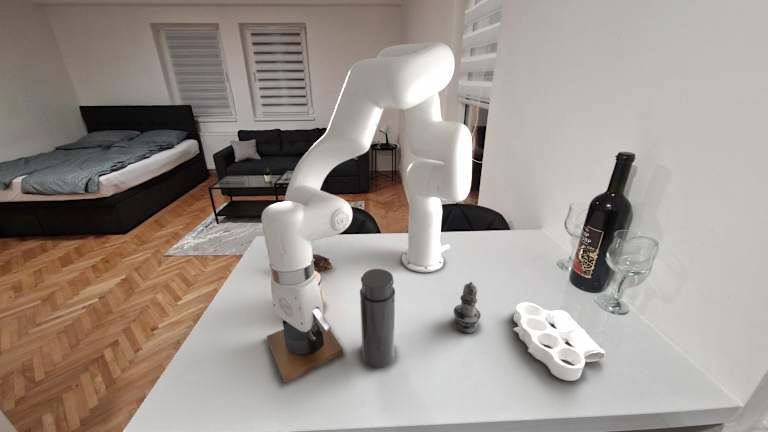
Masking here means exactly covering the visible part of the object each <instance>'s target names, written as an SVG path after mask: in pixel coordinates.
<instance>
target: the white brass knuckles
mask: <svg viewBox="0 0 768 432" xmlns="http://www.w3.org/2000/svg"><path fill="white" fill-rule="evenodd" d="M513 321H514V322H515V323H516V324H517V327H514V328H512V331H514V332H516V333H517V334H518V337H519V339H520V340H521V342H524V344H525V345H526V347H527V353H530V354H531V355H532V356H533V357H534V358H535V359H536V360H539V361H540V362H541V363H543V364H544V365H545V366H547V368H548V369H549V371H550V373H551V374H552V375H553V376H555V377H556V378H558V379H560V380H562V381H568V382H571V381H573V382H574V381H577V380H578V379H580V377H581V375H582V373H583V371H584V367H585V364H586V363H592V362H597V361H601V360H603V359H604V358H605V357H606V355H607V353H606V351H605V350H604V349H603V348H600V346H599V345H598V344H597V343H596V342H595V341H594V340H593V339H592V338H591V337H590V336H589V335H588V334H587V332H586V330H585V329H583V328H582V327H581V326H580V325H578V323H577V322H576V321H575V320H574V319H573V317H571V316H570V314H569V313H568V312H567V311H564V310H547V309H544V308H542V307H541V306H539V305H537V304H535V303H532V302H521V303H519V304H517V305H516V308H515V311H514V316H513ZM551 325H553V326H554V327H555V328H554V327H552V326H551ZM566 343H569V344H570V345H571V346H569V345H568V344H566ZM544 345H546V346H548V347H546V346H544ZM549 347H550V348H549ZM562 360H563V361H567V362H569V363H570V364H572V365H570V364H567V363H565V362H563V361H562Z"/></svg>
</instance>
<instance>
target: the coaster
mask: <svg viewBox="0 0 768 432" xmlns="http://www.w3.org/2000/svg"><path fill="white" fill-rule="evenodd" d="M283 330H284V328H282V329H280V330H278V331H275V332H272V333H270V334H268V335H266V339H267V342H268V345H269V347H270V350H271V352H272V353H271V354H272V355H273V358H274V361H275V363H276V365H277V368H278V372H279V374H280V376H281V378H282V381H283V383H284V384H286V383H288V382H290V381H292V380H294V379H296V378H299V377H301V376H302V375H304V374H306V373H309V372H310V371H313V370H314V369H316V368H318V367H320V366H322V365H325V364H327V363H328V362H330V361H332V360H334V359H337V358H339V357H340V356H342V355H344V351H343V347H342V346H341V344H340V343H339V340H337V338H336V336H335V335H334V334H333V332H332V330H331V329H330V330H328V331H327V332H326V333H325V334H323V339H324V345H323V346H322V348H321V349H320V350H318V351H317V352H316V353H314V354H313V355H312V354H311V353H310V352H308V353H305V354H294V353H292V352H290V351H289V350H288V349H287V347H286V343H285V338H284V333H283Z"/></svg>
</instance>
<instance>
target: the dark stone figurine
mask: <svg viewBox="0 0 768 432" xmlns="http://www.w3.org/2000/svg"><path fill="white" fill-rule="evenodd" d="M462 290H463V291H462V294H461V295H460V300H461V303H460V304H457V305H456V306H455V307H454V308H453V315H454V320H453V327H454V328H455V330H457V331H458V332H460V333H462V334H468V335H469V334H474V333H475V332H476V331H477V330H478V324H477V323H478V322H479V320H480V319H481V317H482V316H481V312H480V310H479V309H478V308H477V307H476V304H477V303H478V298H477V294H478V288H477V286H476V285H475V284H474V283H473V282H472V281H470V282H469V283H466V284H464V286H463V289H462Z"/></svg>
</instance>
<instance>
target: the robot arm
mask: <svg viewBox="0 0 768 432" xmlns="http://www.w3.org/2000/svg"><path fill="white" fill-rule="evenodd" d="M455 64H456V63H455V56H454V53H453V51H452V49H451V48H450V47H449V46H448V45H447V44H446V43H444V42H439V41H433V42H432V41H431V42H421V43H407V44H405V43H404V44H397V45H391V46H388V47H384V48H383V49H382V50H380V52H379V53H378V54H377V56H376V57H371V58H365V59H361V60H358V61H357V62H354V64H353V65H352V66H351V68H350V69H349V71H348V73H347V76H346V78H345V82H344V84H343V86H342V89H341V92H340V95H339V97H338V101H337V103H336V105H335V109H334V111H333V114H332V116H331V119H330V121H329V124H328V127H327V129H326V131H325V133H324V134H323V135H322V136H321V137H320V138H319V139H318V140H317V141H316V142H314V143H313V145H312V146H311V147H310V148H309V149H308V151H307V152H305V154H304V155H303V156H302V157H301V158H300V160H299V161H298V163H297V164H296V166H295V167H294V170H293V173H292V175H291V177H290V180H289V183H288V186H287V188H286V192H285V196H284V201H281V202H276V203H273V204H270V205H268V206H267V207H265V208H264V209H263V211H262V213H261V219H260V220H261V226H262V230H263V236H264V241H265V246H266V250H267V257H268V260H269V268H270V267H271V268H270V273H271V274H270V288H271V289H270V290H271V299H272V303H273V310H274V312H275V314H276V315H277V316H278V317H280V319H281V320H282V326H283V328H284V327H285V325H286V323H287V322H288V323H289V324H291V325H292V326H294V327H295V328H297V329H298V330H300V331H302V332H308V334H309V337H310V338H309V339H308V342H309V349H310V353H311V354H312V355H313V354H314V353H316V352H317V351H318V350H320V349H321V348H322V346H323V345H324V339H323V334H325V333H326V332H327V331H328V330H331V329H332V327H331V325H330V323H329V322H328V321H327V319H326V318H325V316H324V305H323V306H322V301H323V299H322V300H321V295H320V290H319V287H318V283H317V280H316V277H315V276H314V274H315V270H314V262H313V261H314V259H313V254H314V253H313V246H312V242H313V241H317V240H318V241H319V240H322V239H326V238H327V239H328V238H330V237H335V236H338V235H340V234H341V233H343V232H344V231H346V230H347V229H348V228H349V226H350V225H351V223H352V220H353V214H354V213H353V209H352V207H351V205H350V203H349V202H348V201H346V200H345V199H344V198H342V197H339V196H337V195H334V194H331V193H329V192H327V191H324V190H321V188H322V186H323V183H324V181H325V179H326V178H327V176H328V175H329V173H330V172H331V171H332V170H333V169H334V168H336V167H337V166H338V165H340V164H342V163H344V162H346V161H349V160H351V159H354V158H357V157H359V156H362V155H364V154H365V153H367V152H368V151H369V149H370V148H371V145H372V142H373V140H374V136H375V133H376V131H377V129H378V126H379V123H380V120H381V117H382V114H383V112H384V110H385V109H392V110H404V114H405V117H404V118H405V126H406V135H407V143H408V144H407V145H408V149H409V151H410V153H411V154H412V155H413V156H415V157H417V158H420V159H416V160H414V161H412V162H411V163H410V164H409V166H407V167H408V168H407V170H406V173H405V174H406V175H405V180H406V181H405V182H406V188H407V193H408V221H407V223H408V224H407V225H408V226H407V250H406V251H405V252H404V253H403V254H402V255H401V256H402V257H401V262H402V264H403V265H404V267H406V268H407V269H409V270H411V271H413V272H417V273H432V272H436V271H438V270H440V269H441V268H442V267H443V265H444V257H443V255H442V254H443V253H444V252H446V251H449V250H450V249H451V246H450V243H445V244H442V243H441V232H442V231H441V230H442V220H443V204H442V201H446V202H450V203H460V202H462V201H464V200H466V198H467V197H468V195H469V193H470V191H471V187H472V173H473V172H472V170H473V169H472V167H473V139H472V134H471V131H470V130H469V128H468V126H467V125H465V124H464V123H461V122H457V121H449V120H444V119H443V118H442V113H441V100H440V95H439V92H441V91H442V90H444V89H445V88H446V87H447V86H448V85H449V83H450V81H451V80H452V78H453V75H454V73H455V72H454V71H455ZM441 200H442V201H441ZM313 319H314V320H313ZM315 324H316V326H317V328H318V329H317V330H316V331H315V332H313V330H312V328H311V327H312V326H314V325H315Z"/></svg>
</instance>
